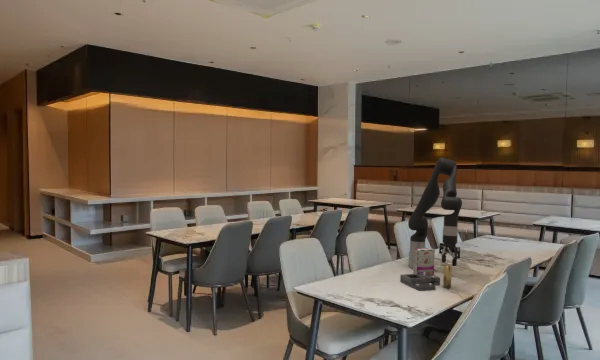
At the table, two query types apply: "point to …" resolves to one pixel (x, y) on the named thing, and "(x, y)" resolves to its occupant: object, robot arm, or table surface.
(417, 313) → the table surface
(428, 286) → the lower chain end
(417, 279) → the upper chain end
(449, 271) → the brass pin
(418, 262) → the candy bar box
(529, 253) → the table surface
